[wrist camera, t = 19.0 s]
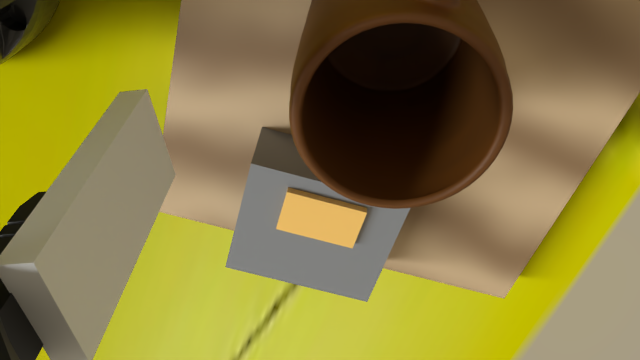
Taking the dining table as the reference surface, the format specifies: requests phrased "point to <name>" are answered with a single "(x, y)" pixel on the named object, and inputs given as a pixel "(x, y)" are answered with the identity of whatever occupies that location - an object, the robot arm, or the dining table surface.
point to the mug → (399, 98)
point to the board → (443, 216)
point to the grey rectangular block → (308, 226)
